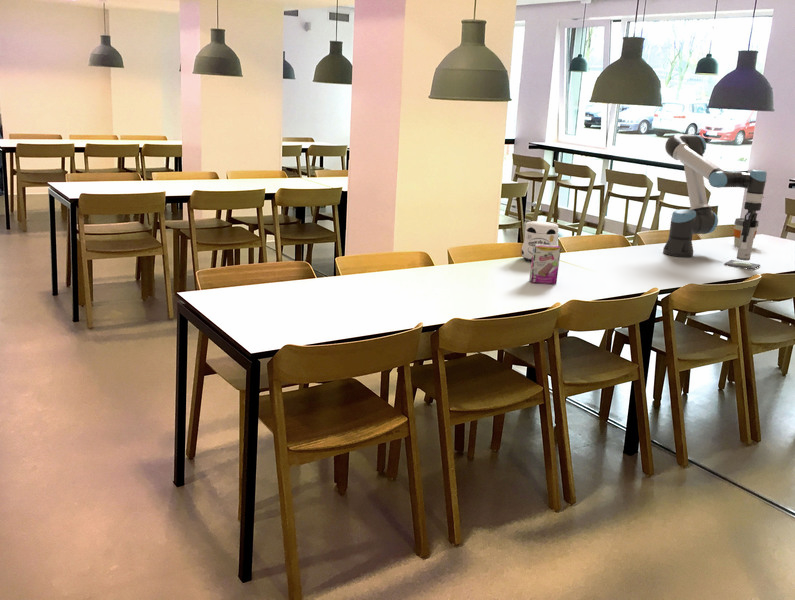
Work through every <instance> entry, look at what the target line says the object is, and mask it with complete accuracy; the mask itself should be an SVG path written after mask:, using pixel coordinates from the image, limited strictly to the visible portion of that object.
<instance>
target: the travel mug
mask: <svg viewBox="0 0 795 600" xmlns="http://www.w3.org/2000/svg"><path fill="white" fill-rule="evenodd" d="M758 221H759V220H757V221H755V222H752V223H751V226H750V230H749V234H748V236H749V238H748V243H747V249H742V248H741V242H742V236H743V235H740V241H739V246H737V253H736V259H737V260H738V261H745V262H747V261H750V260H751V255H752V249H753V244H754V240H755V238H754V234H755V228H756V222H758ZM758 223H759V222H758ZM743 225H744V221H743ZM743 225H742V229H741V234H742V230H743Z"/></svg>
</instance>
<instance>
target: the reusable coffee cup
mask: <svg viewBox="0 0 795 600" xmlns="http://www.w3.org/2000/svg"><path fill="white" fill-rule="evenodd" d="M744 219H745V217H744V218H741V217H739V218H738V217H737V218H735V221H734V227H733V239H734V242H733V245H734V246H735V245H736V246H735V247H738V246H739V241H740V235H741V229H742V225H743V221H744ZM756 221H758V222H756V228H755V234H754V239H755V238H756V234H757V233H758V232H757V230H758V227H759V220H757V219H756Z"/></svg>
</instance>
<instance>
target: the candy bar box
mask: <svg viewBox="0 0 795 600" xmlns="http://www.w3.org/2000/svg"><path fill="white" fill-rule="evenodd" d="M561 250H562V249H561V246H560V245H558V244H557V245H544V244H533V252H532V261H530V262H531V264H530V271H529V278H528V280H529V282H530V283H531V284H544V285H546V284H547V285H557V282H558V281H557V280H558V274H559V273H558V272H559V266H560V265H559V264H560V257H561Z"/></svg>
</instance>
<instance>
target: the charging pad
mask: <svg viewBox="0 0 795 600" xmlns="http://www.w3.org/2000/svg"><path fill="white" fill-rule="evenodd" d="M723 265H724V266H727V265H728V266H729V267H733V266H734V268H738V267H740V268H739V269H744V268H747V269H746V270H750V269H755V268H757V267H758V268H760V267H761V264H757V263H752V262H747V261H743V260H736V259H735V260H734V259H731V260H728V261H725V262H724V264H723ZM759 266H760V267H759ZM758 268H757V269H758ZM755 270H756V269H755Z"/></svg>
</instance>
